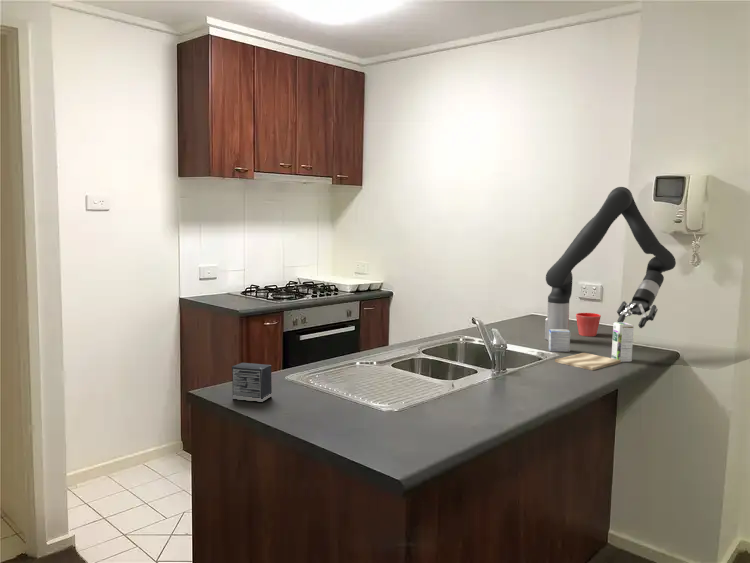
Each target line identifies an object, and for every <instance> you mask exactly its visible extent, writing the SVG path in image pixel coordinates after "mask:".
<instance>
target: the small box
mask: <svg viewBox="0 0 750 563" xmlns="http://www.w3.org/2000/svg"><path fill="white" fill-rule="evenodd" d="M231 372H232V373H231V375H232V377H231V378H232V383H231V384H232V396H233V395H236V396H243V397H252V398H261V399H263V398H264V397H266V396H268V395H269V394H271V393H273V392H272V388H273V387H272V386H273V385H272V365H271V364H263V363H262V364H261V363H252V362H251V363H250V362H240V363H238V364H236V365H235V364H234V365H232V366H231Z"/></svg>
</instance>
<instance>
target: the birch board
mask: <svg viewBox="0 0 750 563" xmlns="http://www.w3.org/2000/svg"><path fill="white" fill-rule="evenodd" d="M554 362H555V363H558V364H562V365H567V366H571V367H575V368H578V369H580V368H581V369H584V370H589V371H596V370H599V369H603V368H605V367H606V368H607V367H610V366H614V365H618V364H620V363H621V360H618V359H613V358H611V357H607V356H603V355H596V354H592V353H588V352H581V353H577V354H572V355H568V356H564V357H560V358H556V359H555V358H554ZM621 364H622V363H621Z"/></svg>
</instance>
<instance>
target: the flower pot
mask: <svg viewBox="0 0 750 563" xmlns="http://www.w3.org/2000/svg"><path fill="white" fill-rule="evenodd" d="M575 318H576V324H577V330H578V335H579V336H582V337H596V336H597V334H598V330H599V326H600V322H601V314H598V313H594V312H593V313H592V312H578V313H576V314H575Z"/></svg>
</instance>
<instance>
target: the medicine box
mask: <svg viewBox="0 0 750 563" xmlns="http://www.w3.org/2000/svg"><path fill="white" fill-rule="evenodd" d="M570 346H571V331H570V330H569V329H568V330H565V329H550V330H549V341H548V351H549V352H558V353H559V352H561V353H564V352H566V353H567V352H568V353H571V352H570V351H571V350H570V349H571V347H570Z"/></svg>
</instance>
